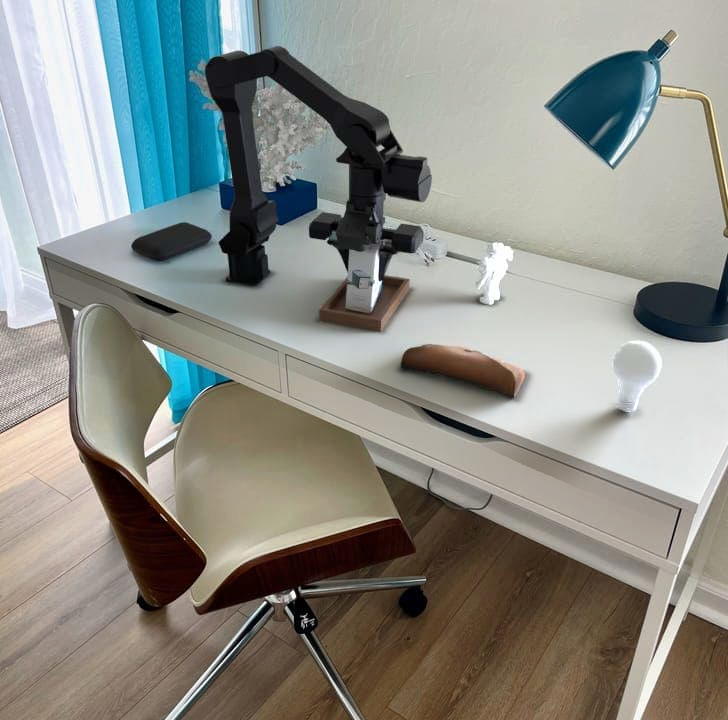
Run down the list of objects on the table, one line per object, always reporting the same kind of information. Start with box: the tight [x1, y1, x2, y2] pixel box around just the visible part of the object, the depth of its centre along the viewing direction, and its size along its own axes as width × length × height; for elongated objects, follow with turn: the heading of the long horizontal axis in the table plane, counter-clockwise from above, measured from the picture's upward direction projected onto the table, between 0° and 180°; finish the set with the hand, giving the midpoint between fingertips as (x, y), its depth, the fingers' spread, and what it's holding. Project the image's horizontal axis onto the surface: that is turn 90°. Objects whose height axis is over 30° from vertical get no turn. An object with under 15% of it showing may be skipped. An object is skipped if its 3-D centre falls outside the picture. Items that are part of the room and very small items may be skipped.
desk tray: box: [318, 274, 411, 332], centre depth 131 cm, size 11×17×2 cm
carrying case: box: [131, 221, 213, 262], centre depth 150 cm, size 11×3×15 cm
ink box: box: [346, 240, 384, 313], centre depth 128 cm, size 9×5×12 cm, turn 168°
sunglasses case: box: [400, 343, 527, 398], centre depth 112 cm, size 18×7×7 cm
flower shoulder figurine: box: [474, 241, 514, 305], centre depth 130 cm, size 9×4×12 cm, turn 140°
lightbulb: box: [612, 340, 662, 413], centre depth 102 cm, size 6×6×11 cm
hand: (365, 278), depth 128 cm, fingers closed on ink box, 5 cm apart
